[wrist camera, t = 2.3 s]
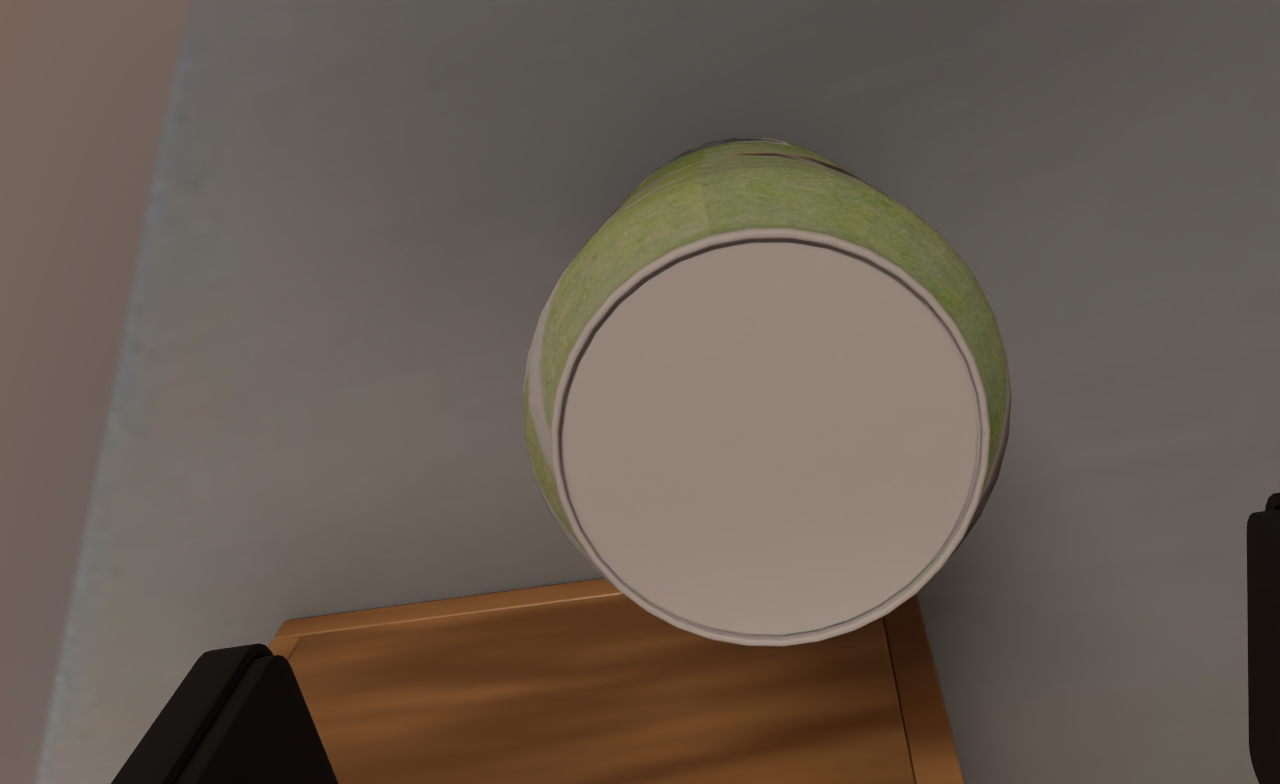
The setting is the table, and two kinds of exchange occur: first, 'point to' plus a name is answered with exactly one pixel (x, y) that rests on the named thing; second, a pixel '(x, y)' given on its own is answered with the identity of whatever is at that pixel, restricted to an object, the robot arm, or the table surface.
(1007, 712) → the table surface
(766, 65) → the table surface
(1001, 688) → the table surface
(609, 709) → the chest
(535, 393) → the beverage can
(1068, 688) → the table surface
